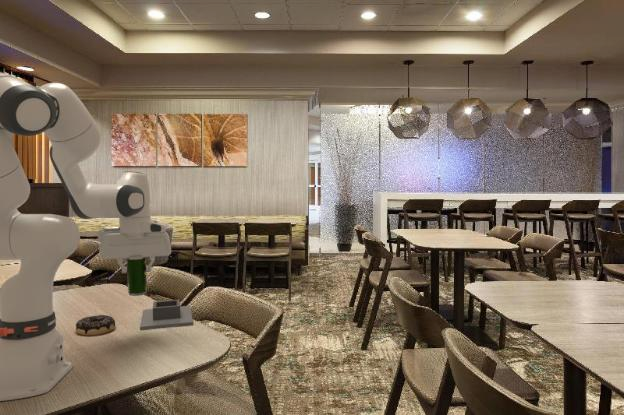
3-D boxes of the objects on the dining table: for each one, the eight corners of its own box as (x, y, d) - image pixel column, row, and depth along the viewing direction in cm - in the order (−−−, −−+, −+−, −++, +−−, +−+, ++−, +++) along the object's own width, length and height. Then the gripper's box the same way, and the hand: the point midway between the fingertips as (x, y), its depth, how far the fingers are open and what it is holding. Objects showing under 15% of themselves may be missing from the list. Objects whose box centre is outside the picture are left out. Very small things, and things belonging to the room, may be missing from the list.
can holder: (193, 324, 155) (192, 309, 154) (140, 330, 150) (139, 314, 150) (190, 308, 174) (190, 294, 174) (143, 312, 169) (142, 298, 169)
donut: (100, 323, 158) (99, 311, 158) (123, 329, 152) (123, 316, 152) (68, 333, 149) (67, 320, 149) (92, 339, 143) (91, 326, 142)
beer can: (130, 297, 142) (129, 256, 141) (126, 293, 146) (124, 254, 145) (149, 294, 145) (147, 254, 144) (144, 290, 149) (143, 252, 148)
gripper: (96, 228, 138) (97, 276, 139) (170, 226, 144) (171, 271, 145) (99, 226, 144) (100, 272, 145) (170, 224, 150) (171, 268, 151)
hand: (136, 272), depth 145 cm, fingers closed on beer can, 5 cm apart
